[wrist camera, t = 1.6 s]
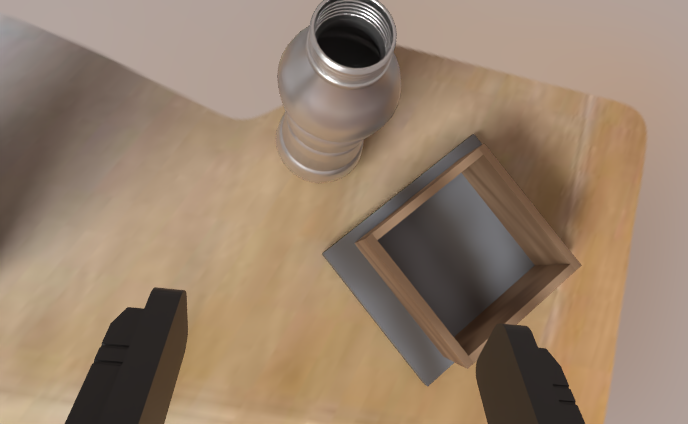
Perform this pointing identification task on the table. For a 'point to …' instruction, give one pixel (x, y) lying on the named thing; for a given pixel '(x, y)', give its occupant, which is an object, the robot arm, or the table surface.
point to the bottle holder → (452, 260)
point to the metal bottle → (336, 88)
